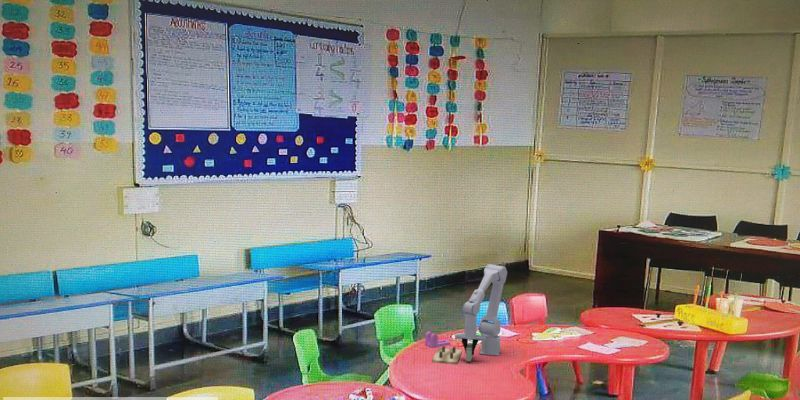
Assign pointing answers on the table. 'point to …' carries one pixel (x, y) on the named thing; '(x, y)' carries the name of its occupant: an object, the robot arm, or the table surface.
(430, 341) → the bracket
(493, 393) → the table surface
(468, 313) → the robot arm
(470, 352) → the door
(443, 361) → the beige board with pegs
